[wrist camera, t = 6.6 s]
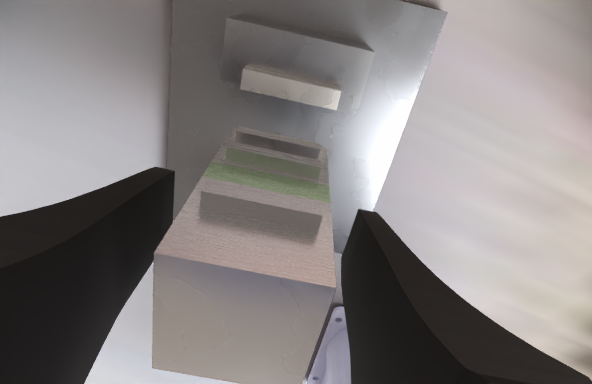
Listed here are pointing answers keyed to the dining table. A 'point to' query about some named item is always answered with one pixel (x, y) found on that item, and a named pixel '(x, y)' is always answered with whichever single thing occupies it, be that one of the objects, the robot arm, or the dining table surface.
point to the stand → (298, 85)
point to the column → (247, 264)
